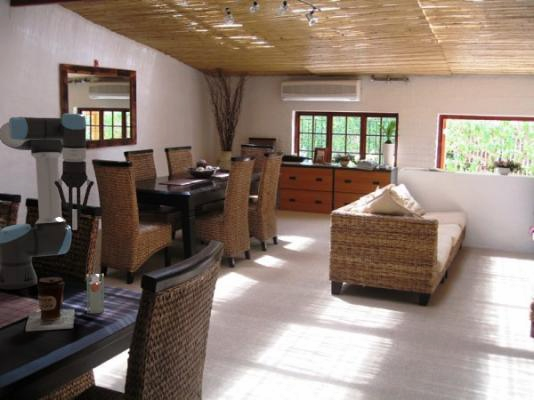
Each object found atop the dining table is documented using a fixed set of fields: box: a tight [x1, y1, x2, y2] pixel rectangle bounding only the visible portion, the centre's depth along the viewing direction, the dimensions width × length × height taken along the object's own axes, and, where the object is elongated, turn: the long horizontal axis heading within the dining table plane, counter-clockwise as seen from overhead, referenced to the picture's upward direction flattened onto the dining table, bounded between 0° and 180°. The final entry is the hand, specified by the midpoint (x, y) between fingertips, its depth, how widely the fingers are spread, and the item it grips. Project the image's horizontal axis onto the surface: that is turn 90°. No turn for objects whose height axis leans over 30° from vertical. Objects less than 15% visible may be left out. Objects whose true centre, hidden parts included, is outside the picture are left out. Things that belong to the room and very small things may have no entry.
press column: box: [86, 273, 105, 314], centre depth 201 cm, size 4×6×13 cm
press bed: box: [25, 308, 75, 332], centre depth 191 cm, size 14×14×2 cm
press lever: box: [89, 273, 102, 292], centre depth 195 cm, size 15×4×3 cm, turn 16°
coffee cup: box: [36, 276, 66, 320], centre depth 189 cm, size 9×8×13 cm
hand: (74, 228), depth 199 cm, fingers closed
